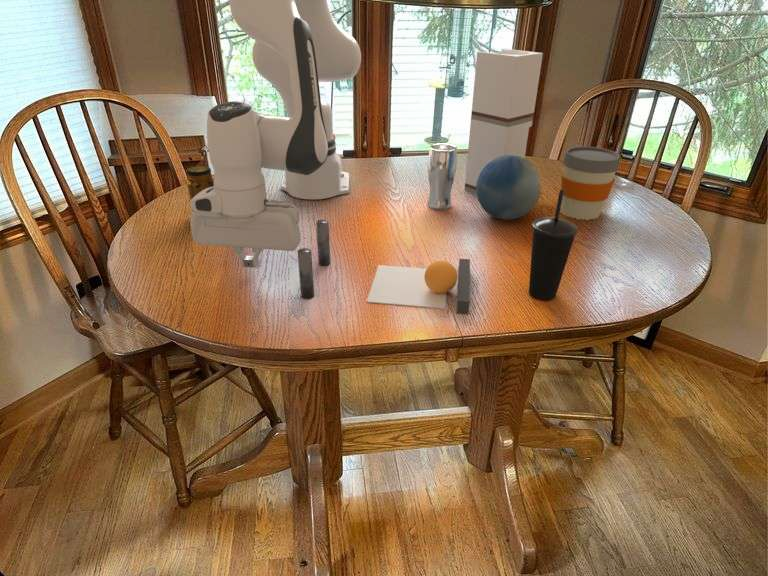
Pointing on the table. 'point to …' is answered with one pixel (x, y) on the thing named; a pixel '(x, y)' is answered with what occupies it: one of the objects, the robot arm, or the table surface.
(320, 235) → the post
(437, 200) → the silver metal cylinder
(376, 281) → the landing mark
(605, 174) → the reusable coffee cup
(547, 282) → the drinking cup
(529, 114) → the tall brown-banded box
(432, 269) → the ball
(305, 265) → the post
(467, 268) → the wall
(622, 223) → the table surface
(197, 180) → the condiment
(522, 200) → the decorative ball
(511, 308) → the table surface
